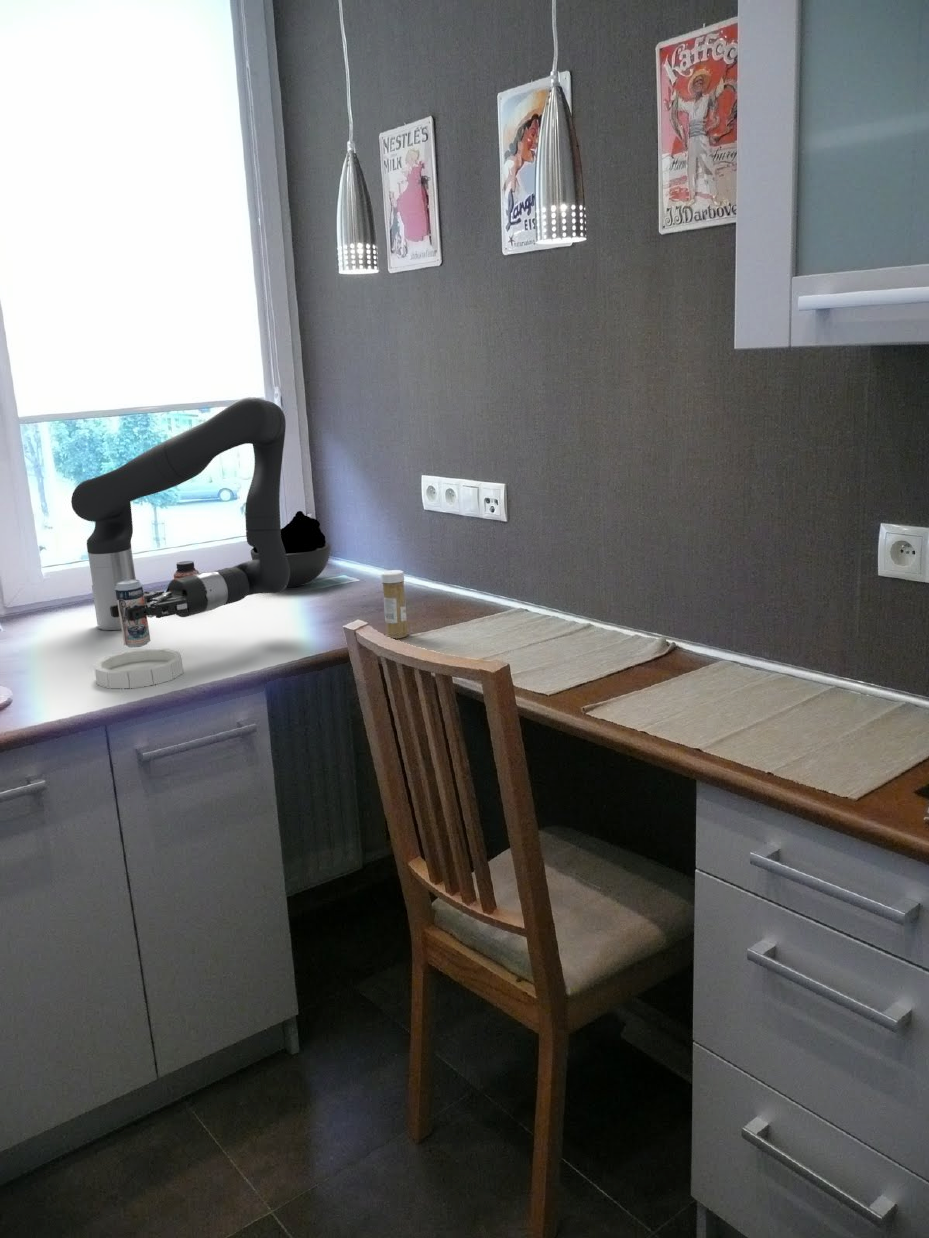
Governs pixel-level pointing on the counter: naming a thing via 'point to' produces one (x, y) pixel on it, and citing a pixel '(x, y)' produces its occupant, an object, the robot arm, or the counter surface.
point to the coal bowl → (303, 549)
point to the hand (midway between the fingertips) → (119, 613)
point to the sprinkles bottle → (394, 603)
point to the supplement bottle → (185, 569)
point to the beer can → (130, 597)
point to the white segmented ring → (138, 668)
